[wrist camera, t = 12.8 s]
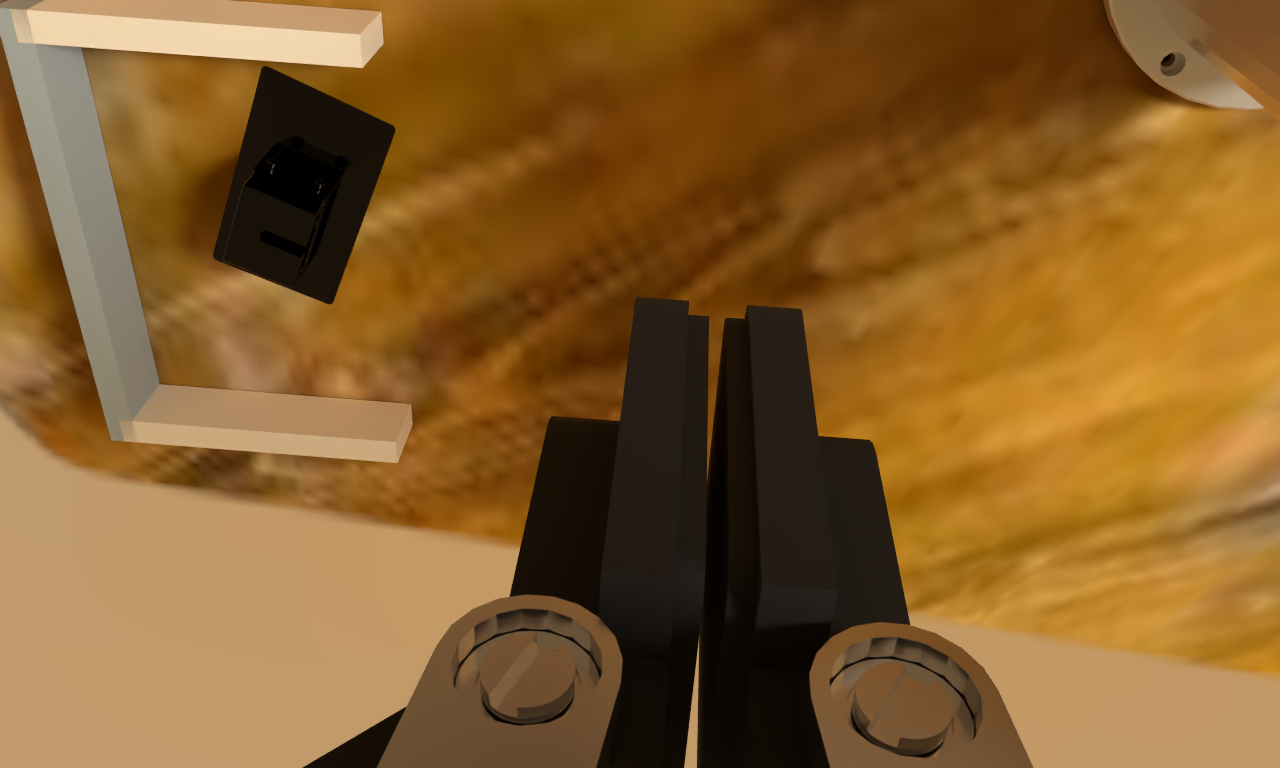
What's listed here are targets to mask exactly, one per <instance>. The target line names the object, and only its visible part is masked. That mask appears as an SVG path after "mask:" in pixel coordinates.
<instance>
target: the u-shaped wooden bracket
mask: <svg viewBox="0 0 1280 768" xmlns="http://www.w3.org/2000/svg"><path fill="white" fill-rule="evenodd" d="M0 36H1V39H2V43H3V47H4V50H5V54H6V58H7V61H8V65H9V68H10V72H11V76H12V79H13V83H14V87H15V90H16V94H17V98H18V101H19V105H20V109H21V112H22V116H23V120H24V123H25V127H26V131H27V134H28V138H29V142H30V145H31V149H32V153H33V156H34V160H35V163H36V167H37V171H38V174H39V178H40V182H41V185H42V189H43V193H44V196H45V200H46V204H47V207H48V211H49V215H50V218H51V222H52V226H53V229H54V233H55V237H56V240H57V244H58V248H59V251H60V255H61V258H62V262H63V266H64V269H65V273H66V277H67V280H68V284H69V288H70V291H71V295H72V299H73V302H74V306H75V310H76V313H77V317H78V321H79V324H80V328H81V332H82V335H83V339H84V343H85V346H86V350H87V354H88V357H89V361H90V364H91V368H92V372H93V375H94V379H95V383H96V386H97V390H98V394H99V397H100V401H101V405H102V408H103V412H104V416H105V419H106V423H107V427H108V430H109V434H110V438H111V440H113V441H126V442H139V443H151V444H164V445H176V446H189V447H202V448H214V449H227V450H239V451H252V452H264V453H277V454H290V455H302V456H315V457H327V458H340V459H353V460H365V461H378V462H390V463H398V461H399V458H400V456H401V453H402V451H403V448H404V445H405V443H406V440H407V438H408V435H409V433H410V430H411V428H412V425H413V421H412V408H411V404H406V403H393V402H380V401H367V400H355V399H342V398H329V397H316V396H304V395H291V394H278V393H266V392H253V391H240V390H227V389H215V388H202V387H189V386H177V385H164V384H160V382H159V378H158V374H157V369H156V365H155V361H154V357H153V352H152V348H151V344H150V339H149V335H148V331H147V327H146V322H145V318H144V314H143V309H142V305H141V301H140V297H139V292H138V288H137V284H136V279H135V275H134V271H133V267H132V262H131V258H130V254H129V249H128V245H127V241H126V237H125V232H124V228H123V224H122V219H121V215H120V211H119V207H118V202H117V198H116V194H115V189H114V185H113V181H112V177H111V172H110V168H109V164H108V159H107V155H106V151H105V147H104V142H103V138H102V134H101V130H100V125H99V121H98V117H97V112H96V108H95V104H94V100H93V95H92V91H91V87H90V82H89V78H88V74H87V70H86V65H85V61H84V57H83V52H82V48H81V47H88V48H101V49H114V50H128V51H141V52H155V53H168V54H182V55H195V56H209V57H222V58H236V59H249V60H263V61H276V62H290V63H303V64H317V65H330V66H344V67H357V68H363V67H364V66H365V65H366V64H367V62H368V61H369V60H370V59H371V58H372V56H373V55H374V54H375V53H376V52H377V51H378V49H379V48H380V47H381V46H382V45H383V44H384V41H383V28H382V15H381V12H380V11H367V10H353V9H339V8H326V7H312V6H298V5H285V4H271V3H258V2H244V1H230V0H7V1H5V2H3V3H1V4H0Z"/></svg>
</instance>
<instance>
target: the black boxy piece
mask: <svg viewBox="0 0 1280 768" xmlns="http://www.w3.org/2000/svg"><path fill="white" fill-rule="evenodd" d="M394 133H395V127H394V126H393V125H391V124H389V123H386V122H384V121H382V120H380V119H378V118H376V117H374V116H372V115H369V114H367V113H365V112H363V111H361V110H359V109H357V108H355V107H353V106H350V105H348V104H346V103H344V102H342V101H340V100H338V99H336V98H333V97H331V96H329V95H327V94H325V93H323V92H321V91H319V90H316V89H314V88H312V87H310V86H308V85H306V84H304V83H302V82H299V81H297V80H295V79H293V78H291V77H289V76H287V75H285V74H283V73H280V72H278V71H276V70H274V69H272V68H270V67H268V66H264V67H263V68H262V70H261V73H260V77H259V81H258V85H257V89H256V93H255V96H254V100H253V104H252V108H251V112H250V116H249V119H248V123H247V127H246V131H245V135H244V139H243V142H242V146H241V150H240V154H239V158H238V162H237V165H236V169H235V173H234V177H233V181H232V185H231V188H230V192H229V196H228V200H227V204H226V208H225V211H224V215H223V219H222V223H221V227H220V231H219V234H218V238H217V242H216V246H215V250H214V254H213V257H214V259H216V260H218V261H220V262H223V263H225V264H228V265H230V266H233V267H235V268H238V269H240V270H243V271H245V272H248V273H251V274H253V275H256V276H258V277H261V278H263V279H266V280H268V281H271V282H273V283H276V284H278V285H281V286H284V287H286V288H289V289H291V290H294V291H296V292H299V293H301V294H304V295H306V296H309V297H311V298H314V299H317V300H319V301H322V302H324V303H327V304H332V303H333V301H334V298H335V296H336V293H337V290H338V287H339V285H340V282H341V279H342V276H343V274H344V271H345V268H346V265H347V263H348V260H349V257H350V254H351V252H352V249H353V246H354V243H355V241H356V238H357V235H358V232H359V230H360V227H361V224H362V221H363V219H364V216H365V213H366V210H367V208H368V205H369V202H370V199H371V197H372V194H373V191H374V188H375V186H376V183H377V180H378V177H379V175H380V172H381V169H382V166H383V164H384V161H385V158H386V155H387V153H388V150H389V147H390V144H391V142H392V139H393V136H394Z"/></svg>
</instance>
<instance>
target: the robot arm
mask: <svg viewBox="0 0 1280 768" xmlns="http://www.w3.org/2000/svg"><path fill="white" fill-rule="evenodd" d="M1103 2H1104V6H1105V10H1106V14H1107V17H1108V21H1109V23H1110V25H1111V27H1112V29H1113V31H1114V33H1115V35H1116V37H1117V38H1118V40H1119V42H1120V44H1121V46H1122V48H1123V49H1124V50H1125V51H1126V53H1127V54H1128V55H1129V56H1130V57H1131V58H1132V59H1133V60H1134V62H1135V63H1136V64H1137V65H1138V66H1139V67H1140V68H1141V69H1142V70H1143V71H1144V72H1145V73H1146V74H1147V75H1148V76H1149V77H1150V78H1151V79H1153V80H1154V81H1155V82H1156V83H1157V84H1159V85H1160V86H1162V87H1164V88H1166V89H1168V90H1169V91H1171V92H1173V93H1175V94H1177V95H1179V96H1181V97H1182V98H1184V99H1186V100H1189V101H1193V102H1196V103H1200V104H1204V105H1207V106H1211V107H1214V108H1222V109H1236V110H1258V109H1266V110H1268V111H1269V112H1270V113H1271V114H1272V115H1274V116H1275V117H1276V118H1277V119H1279V120H1280V0H1103ZM1170 53H1171V57H1170V58H1169V60H1168V61H1166V62H1165V63H1161V62H1162V60H1163V58H1164V57H1165V56H1167V55H1168V54H1170ZM688 309H689V301H683V300H669V299H655V298H642V297H636V301H635V309H634V317H633V324H632V332H631V340H630V348H629V356H628V364H627V371H626V379H625V387H624V395H623V403H622V411H621V418H620V421H609V420H596V419H583V418H569V417H556V416H552V417H551V418H550V419H549V423H548V426H547V430H546V435H545V439H544V444H543V448H542V453H541V457H540V462H539V466H538V471H537V475H536V480H535V484H534V489H533V493H532V498H531V502H530V507H529V511H528V516H527V520H526V525H525V529H524V534H523V538H522V543H521V547H520V552H519V556H518V561H517V565H516V571H515V575H514V579H513V584H512V588H511V593H510V597H507V598H500V599H496V600H494V601H492V602H489V603H487V604H484V605H482V606H479V607H477V608H475V609H472V610H471V611H469V612H468V613H467V614H465V615H464V616H463V617H461V618H460V619H459V620H457V621H456V622H455V623H453V624H452V625H451V626H450V628H449V629H448V631H447V632H446V633H445V635H444V636H443V637H442V639H441V640H440V641H439V643H438V644H437V646H436V648H435V650H434V652H433V654H432V656H431V658H430V660H429V662H428V664H427V666H426V668H425V670H424V672H423V674H422V676H421V678H420V680H419V682H418V684H417V686H416V689H415V691H414V693H413V695H412V697H411V699H410V701H409V703H408V705H407V707H405V708H403V709H401V710H400V711H398V712H396V713H395V714H393V715H391V716H389V717H388V718H386V719H384V720H383V721H381V722H379V723H378V724H376V725H374V726H373V727H371V728H369V729H367V730H366V731H364V732H363V733H361V734H359V735H357V736H356V737H354V738H352V739H350V740H349V741H347V742H346V743H344V744H342V745H340V746H339V747H337V748H335V749H334V750H332V751H330V752H328V753H327V754H325V755H323V756H322V757H320V758H318V759H316V760H315V761H313V762H311V763H310V764H308V765H306V766H305V767H303V768H684V763H685V755H686V746H687V737H688V729H689V720H690V711H691V701H692V694H693V685H694V676H695V668H696V659H697V650H698V641H699V687H698V741H697V743H698V744H697V768H1033V765H1032V764H1031V761H1030V759H1029V757H1028V755H1027V752H1026V750H1025V748H1024V746H1023V744H1022V742H1021V739H1020V737H1019V735H1018V733H1017V730H1016V728H1015V726H1014V724H1013V722H1012V719H1011V717H1010V715H1009V713H1008V711H1007V709H1006V706H1005V704H1004V702H1003V700H1002V697H1001V695H1000V693H999V691H998V689H997V688H996V686H995V685H994V683H993V681H992V680H991V678H990V677H989V675H988V674H987V673H986V671H985V669H984V668H983V667H982V666H981V665H980V664H979V663H978V662H977V661H976V660H975V659H973V658H972V657H971V656H970V655H969V654H968V653H967V652H966V651H965V650H964V649H962V648H961V647H959V646H957V645H956V644H954V643H952V642H950V641H948V640H946V639H945V638H943V637H941V636H940V635H938V634H936V633H933V632H930V631H927V630H923V629H920V628H917V627H914V626H911V625H910V621H909V616H908V611H907V606H906V601H905V596H904V591H903V586H902V581H901V576H900V571H899V566H898V561H897V556H896V551H895V546H894V541H893V536H892V531H891V526H890V521H889V516H888V511H887V506H886V501H885V496H884V491H883V486H882V481H881V476H880V471H879V466H878V461H877V456H876V452H875V449H874V445H873V443H872V442H871V441H870V440H863V439H850V438H836V437H823V436H818V430H817V423H816V415H815V407H814V400H813V392H812V384H811V376H810V369H809V361H808V353H807V345H806V338H805V330H804V322H803V315H802V310H801V309H794V308H780V307H766V306H752V305H747V308H746V313H745V319H738V318H725V323H724V330H723V339H722V348H721V358H720V367H719V376H718V385H717V395H716V404H715V413H714V422H713V432H712V441H711V450H710V459H709V469H708V478H707V423H708V347H709V316H696V315H688Z"/></svg>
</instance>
